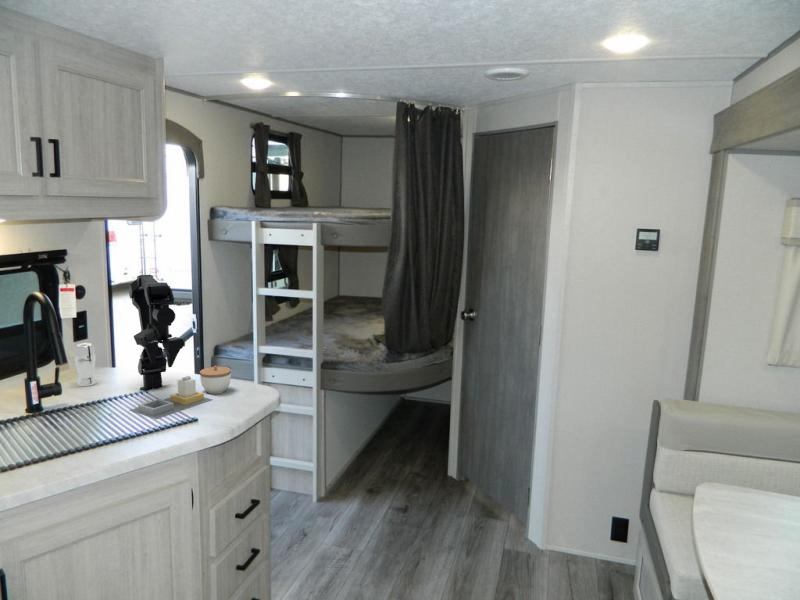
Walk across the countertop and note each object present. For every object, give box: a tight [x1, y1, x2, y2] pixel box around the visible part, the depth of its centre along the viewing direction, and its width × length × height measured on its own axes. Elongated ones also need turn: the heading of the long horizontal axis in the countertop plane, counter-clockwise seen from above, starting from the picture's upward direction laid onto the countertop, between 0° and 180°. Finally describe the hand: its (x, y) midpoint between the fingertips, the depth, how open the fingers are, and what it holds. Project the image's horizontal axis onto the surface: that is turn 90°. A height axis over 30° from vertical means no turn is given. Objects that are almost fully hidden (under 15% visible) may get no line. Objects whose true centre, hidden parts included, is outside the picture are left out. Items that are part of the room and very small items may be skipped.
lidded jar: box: [199, 365, 232, 395], centre depth 205 cm, size 11×11×9 cm
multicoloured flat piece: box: [128, 390, 213, 420], centre depth 188 cm, size 14×22×3 cm, turn 149°
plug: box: [177, 375, 197, 398], centre depth 192 cm, size 4×4×8 cm
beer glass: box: [73, 342, 97, 387], centre depth 211 cm, size 7×7×15 cm
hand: (161, 365), depth 193 cm, fingers open, 9 cm apart
